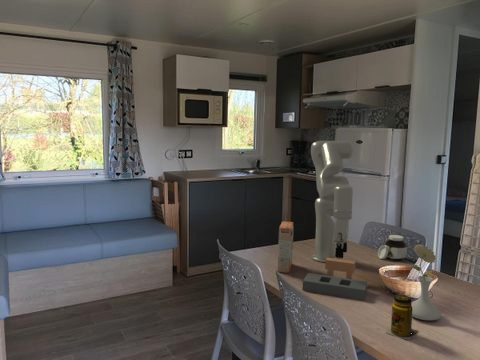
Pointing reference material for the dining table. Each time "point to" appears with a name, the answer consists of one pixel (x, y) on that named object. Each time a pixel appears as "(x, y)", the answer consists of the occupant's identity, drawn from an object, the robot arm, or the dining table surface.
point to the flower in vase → (424, 288)
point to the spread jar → (393, 248)
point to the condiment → (402, 317)
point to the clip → (339, 266)
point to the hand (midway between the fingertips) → (341, 254)
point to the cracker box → (285, 247)
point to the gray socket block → (335, 286)
